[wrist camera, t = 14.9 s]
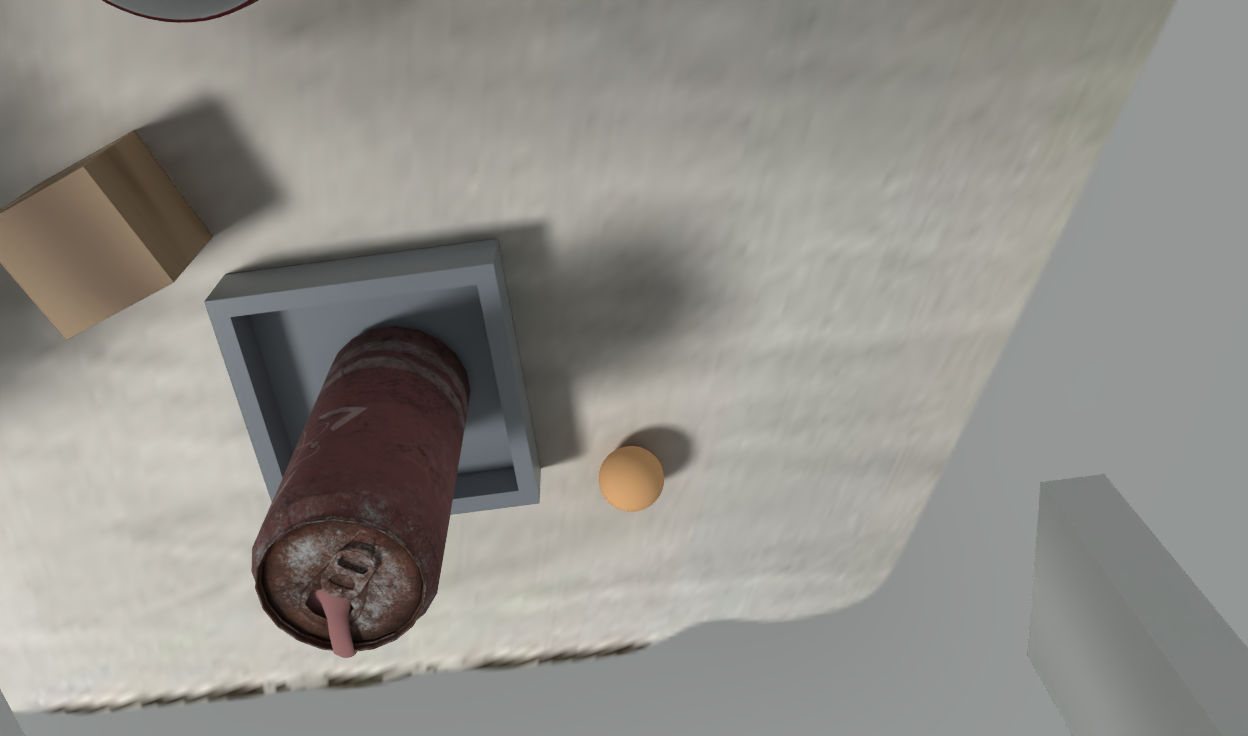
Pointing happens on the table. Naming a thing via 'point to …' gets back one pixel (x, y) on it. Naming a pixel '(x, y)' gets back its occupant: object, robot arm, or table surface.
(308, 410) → the tray
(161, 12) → the mug
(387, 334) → the can
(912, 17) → the table surface
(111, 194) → the walnut block
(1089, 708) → the robot arm
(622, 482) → the rubber ball
